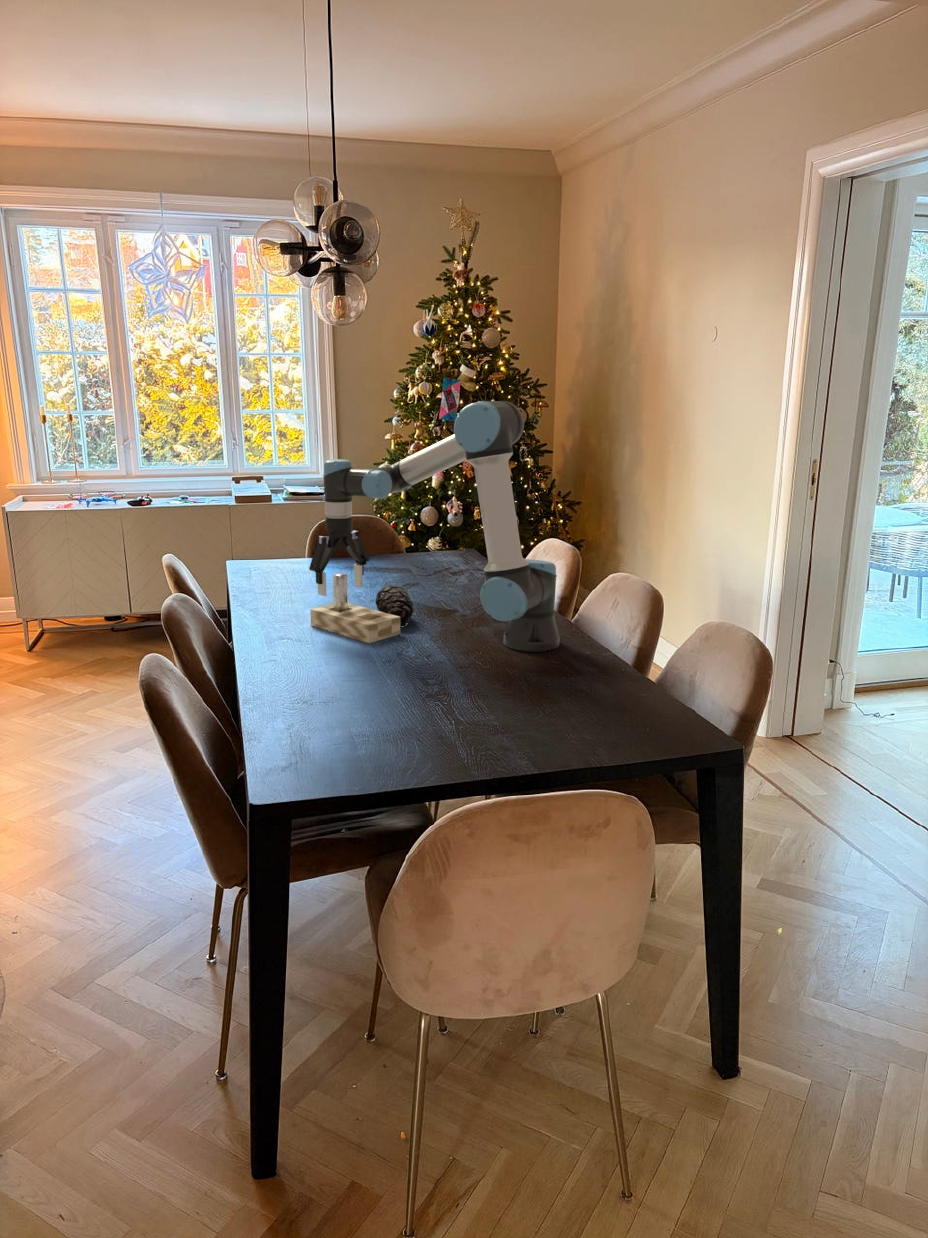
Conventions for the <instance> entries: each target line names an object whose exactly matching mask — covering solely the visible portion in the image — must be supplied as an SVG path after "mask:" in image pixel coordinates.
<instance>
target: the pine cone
mask: <svg viewBox="0 0 928 1238" xmlns="http://www.w3.org/2000/svg"><path fill="white" fill-rule="evenodd" d="M375 605H376V608H377V611H380V612H384V613H388V614H392V615H395V616H399V617H400V626H405V625H406V623H409V622H408V621H410V619H412V616H413V614H414V612H415V608H414V606H413V605H414V603H413V601H412V600H411V598H410V596H409V593H408V591H406V590H404V589H403V588H402V587H401V586H399V585H395V584H394V585H392V584H391V585H386V586H384V587H383V588H381V589H380V590H379V591H378V592H377V594H376V597H375Z"/></svg>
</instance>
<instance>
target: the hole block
mask: <svg viewBox="0 0 928 1238" xmlns="http://www.w3.org/2000/svg"><path fill="white" fill-rule="evenodd" d="M309 611H310V627H313V626H315V627H314V628H316V627H318V628H317V629H319V628H321V629H320V630H323V629H325V630H324V631H326V630H328V631H327V632H330V631H331V632H330V633H333V632H335V633H334V634H336V633H338V634H337V635H340V634H341V636H343V635H344V637H346V636H347V638H350V639H354V640H357V641H359V642H363V643H367V644H370V643H374V642H378V641H381V640H385V639H388V638H391V637H394V636H399V635H401V628H400V617H399V616H395V615H392V614H388V613H384V612H380V611H379V610H377V609H372V608H368V607H364V606H361V605H356V604H353V603H349V602H348V610H347V611H343V612H336V611H334V603H332V604H331V603H330V604H327V605H322V606H318V607H315V608H310V609H309ZM398 634H399V635H398Z"/></svg>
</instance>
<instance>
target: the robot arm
mask: <svg viewBox="0 0 928 1238" xmlns="http://www.w3.org/2000/svg"><path fill="white" fill-rule="evenodd" d="M524 429H525V420H524V416H523V414H522V412H521V411H520V409H519V407H517V406H516V405H515V404H513V403H511V402H509V401H506V400H497V401H496V400H495V401H494V400H489V401H488V400H487V401H486V400H482V401H480V400H479V401H477V402H472V403H469V404H467V405H465V406H464V407H463V408H462V409H460V411H459V412H458V413H457V416H456V418H455V421H454V425H453V432H454V433H453V434H452V435H450V436H447V437H446V438H444V439H442V440H440V441H437V442H435V443H434V444H432V445H430V446H427V447H425V448H422V450H419V451H417V452H415V453H413V454H411V455H409V456H406V457H405V458H403V459H401V460H399V461H398V462H397V461H396V462H395V463H393V464H391V465H389V466H381V467H374V468H353V466H352V462H351V460H348V459H343V458H342V459H340V458H339V459H337V458H336V459H328V460H325V462H324V463H323V476H322V477H323V488H324V489H323V490H324V514H325V516H326V517H325V518H324V525H325V527H324V528H325V531H326V536H322V535H318V536H317V538H316V539H317V543H316V547H315V549H314V553H313V556H312V559H311V561H310V565H309V571H311V572H314V573H315V584H317V594H318V595H319V596H323V597H325V596H326V597H327V572H325V570H326V567H327V566H328V564H329V562H330V560H331V559H332V556H333V555H334V554H335V553H336V552H337V551H341V550H346V551H347V553H349V555H350V556H351V558H352V559H353V560H354V562H355V563H354V564H353V578H354V581H353V582H354V583H353V585H354V587H355V588H361V589H362V588H363V586H364V585H363V583H364V582H363V576H364V572H365V569H364V567H365V566H366V565H367V562H369V561H370V557H369V555H368V552H367V549H366V548H365V545H364V543H363V541H362V536H361V531H358V530H353V528H354V527H353V517H352V515H353V497H359V498H360V497H361V498H369V499H373V500H375V499H385V498H387V496H388V495H390V494H396V493H404V492H405V491H408V490H409V489H411V488H412V486H413V485H416V484H418V483H419V482H422V481H424V480H426V479H429V478H431V477H433V476H435V475H437V474H440V473H441V472H444V471H445V470H447V469H450V468H452V467H455V466H456V465H458V464H460V463H463V462H465V461H466V462H467V463H468V464H470V465H471V466H472V467H473V469H474V471H473V472H474V476H475V482H476V489H477V495H478V496H477V497H478V502H479V508H480V509H479V510H480V515H481V516H480V517H481V522H482V527H483V534H484V535H483V536H484V541H485V542H484V543H485V547H486V555H487V561H488V562H487V564H486V565H485V567H484V568H483V574H484V580H485V581H484V583H483V585H482V586H481V589H480V592H479V600H480V603H481V606H482V608H483V609H484V611H485V612H486V613H487V614H488V615H489V616H490V617H491V618H493V619H495V620H497V621H500V622H501V621H502V622H508V623H507V625H506V627H505V630H504V633H503V645H504V646H505V647H507V648H509V649H512V650H515V651H521V652H522V651H523V652H531V653H532V652H534V653H535V652H536V653H537V652H538V653H539V652H548V651H547V650H549V651H552V650H551V649H553V650H555V649H557V648H559V647H560V640H561V639H560V634H559V632H558V626H557V624H556V619H555V604H556V603H555V602H556V589H557V588H556V585H557V576H558V574H557V568H556V567H557V566H556V565H555V563H554V562H552V561H547V560H539V559H531V558H529V559H528V558H524V557H523V554H522V548H521V547H522V546H521V540H520V531H519V528H518V518H517V513H516V506H515V505H516V504H515V499H514V492H513V486H512V479H511V472H510V466H509V465H510V464H509V460H510V459H511V457H512V456H513V455H514V452H513V451H514V450H513V445H514V444H516V443H517V442H518V441H519V440H520V438H521V437H522V435H523V432H524Z"/></svg>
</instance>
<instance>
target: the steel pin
mask: <svg viewBox="0 0 928 1238" xmlns="http://www.w3.org/2000/svg"><path fill="white" fill-rule="evenodd" d="M332 588H333V589H332V591H333V592H332V593H333V594H332V595H333V597H332V598H333V604H334V611H336V612H343V611H347V610H348V603H349V602H348V601H349V596H348V593H349V592H348V590H349V588H348V574H347V573H345V572H343V573H341V572H340V573H338V572H337V573H334V574H332Z"/></svg>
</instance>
